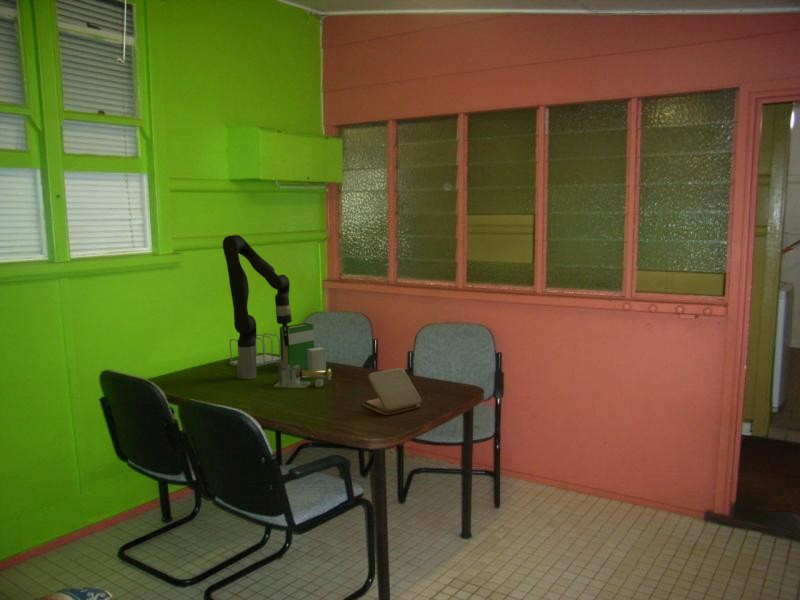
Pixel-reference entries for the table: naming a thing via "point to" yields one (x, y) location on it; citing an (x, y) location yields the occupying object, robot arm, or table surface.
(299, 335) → the hardback book
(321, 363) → the skincare box
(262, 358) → the file sorter
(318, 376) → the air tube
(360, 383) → the table surface
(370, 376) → the case
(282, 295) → the robot arm
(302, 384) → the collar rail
